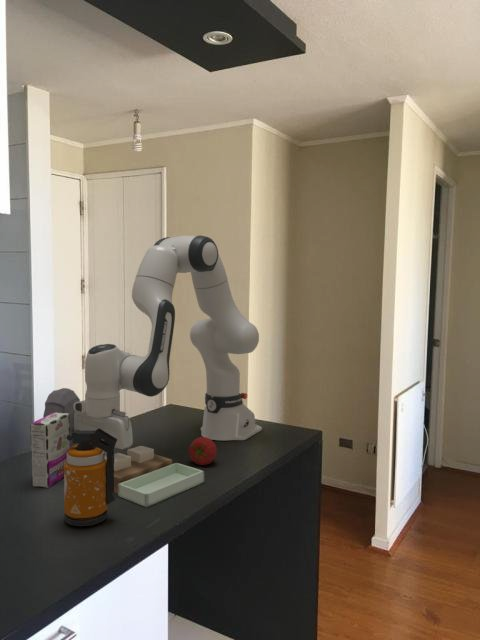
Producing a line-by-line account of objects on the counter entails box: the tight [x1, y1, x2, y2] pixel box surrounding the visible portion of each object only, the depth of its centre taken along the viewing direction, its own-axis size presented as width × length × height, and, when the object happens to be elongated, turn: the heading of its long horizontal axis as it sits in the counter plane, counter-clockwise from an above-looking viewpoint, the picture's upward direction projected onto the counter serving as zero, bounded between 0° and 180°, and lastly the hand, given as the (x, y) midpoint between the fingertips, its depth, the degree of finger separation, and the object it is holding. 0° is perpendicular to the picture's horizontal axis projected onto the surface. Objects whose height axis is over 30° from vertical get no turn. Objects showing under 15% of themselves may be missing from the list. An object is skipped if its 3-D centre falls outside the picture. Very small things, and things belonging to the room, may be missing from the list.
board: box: [114, 453, 173, 495], centre depth 143 cm, size 18×12×4 cm, turn 142°
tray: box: [117, 462, 205, 508], centre depth 137 cm, size 20×10×3 cm, turn 142°
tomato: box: [188, 436, 218, 466], centre depth 155 cm, size 8×8×8 cm
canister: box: [63, 428, 118, 527], centre depth 118 cm, size 9×11×20 cm
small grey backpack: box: [42, 387, 81, 448], centre depth 160 cm, size 15×8×20 cm, turn 170°
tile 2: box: [126, 445, 155, 463], centre depth 147 cm, size 5×5×2 cm
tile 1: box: [105, 452, 131, 471], centre depth 141 cm, size 5×5×2 cm
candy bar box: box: [30, 413, 70, 489], centre depth 141 cm, size 11×5×16 cm, turn 168°
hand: (102, 458), depth 144 cm, fingers closed
